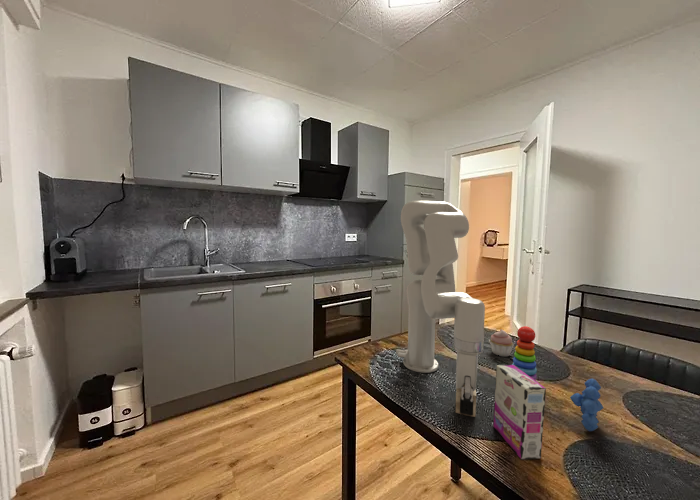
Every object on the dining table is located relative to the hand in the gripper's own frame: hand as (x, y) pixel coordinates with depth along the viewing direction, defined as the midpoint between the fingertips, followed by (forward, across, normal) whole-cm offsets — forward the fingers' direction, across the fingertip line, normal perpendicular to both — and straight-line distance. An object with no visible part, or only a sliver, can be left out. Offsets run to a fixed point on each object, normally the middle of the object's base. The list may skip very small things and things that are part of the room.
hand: (465, 403), depth 81 cm
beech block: (+2, 0, 0) cm, 2 cm away
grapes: (+2, -5, +29) cm, 29 cm away
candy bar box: (+2, +8, +11) cm, 14 cm away
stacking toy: (+2, -22, +18) cm, 29 cm away
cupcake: (+2, -44, +14) cm, 46 cm away
